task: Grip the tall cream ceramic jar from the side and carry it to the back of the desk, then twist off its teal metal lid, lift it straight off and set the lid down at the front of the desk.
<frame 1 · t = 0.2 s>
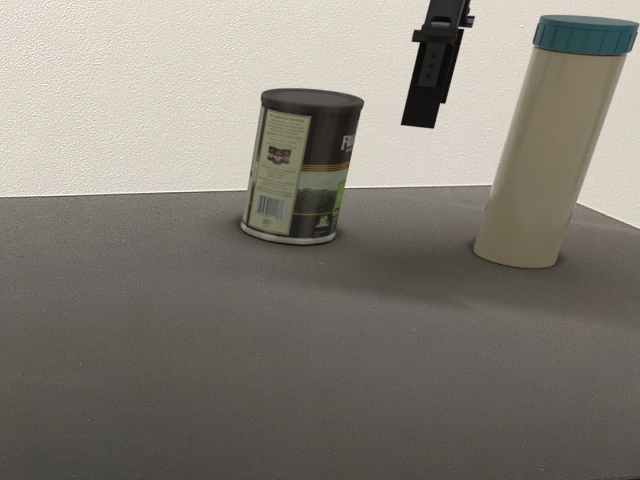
hand: (424, 113, 88), 15 cm above the table, tool pointing down, fingers open, 13 cm apart
jar: (513, 255, 101), on the table
lid: (587, 25, 90), point 22 cm above the table, screwed on, not yet turned
coffee can: (286, 232, 107), on the table
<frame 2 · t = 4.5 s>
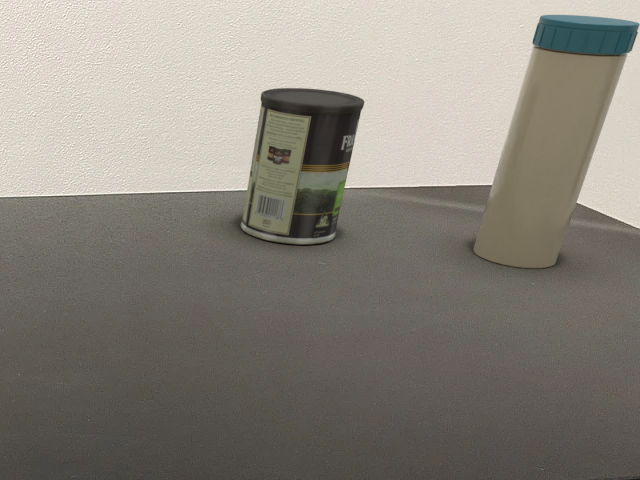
nothing on the table moved.
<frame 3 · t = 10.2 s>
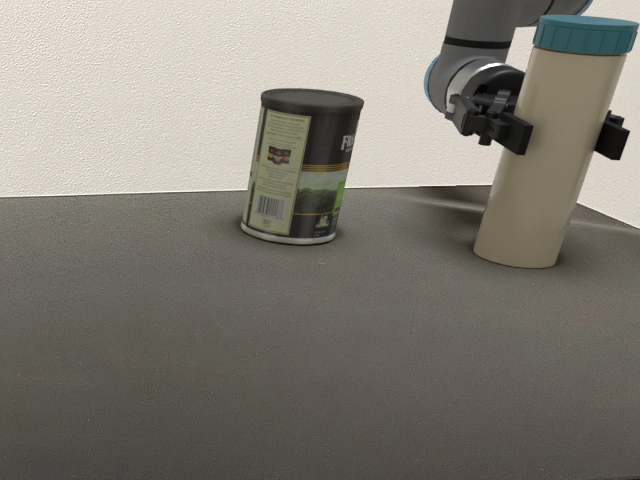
hand: (572, 143, 91), 12 cm above the table, tool horizontal, fingers closed on jar, 8 cm apart
jar: (513, 255, 101), on the table, touching gripper
everything else where it was.
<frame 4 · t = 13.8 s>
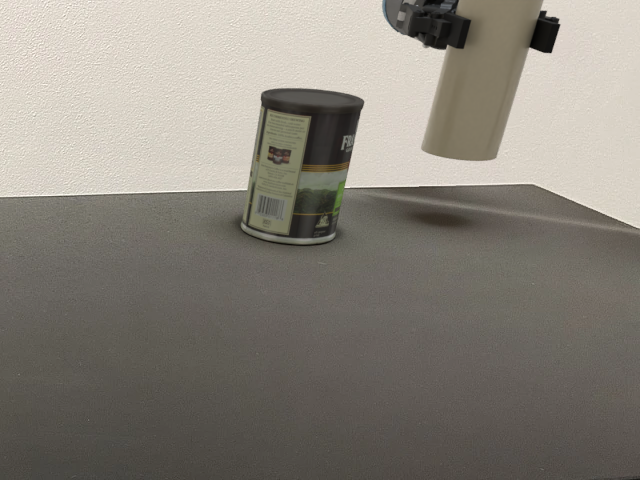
hand: (507, 36, 98), 20 cm above the table, tool horizontal, fingers closed on jar, 8 cm apart
jar: (458, 152, 108), point 8 cm above the table, touching gripper
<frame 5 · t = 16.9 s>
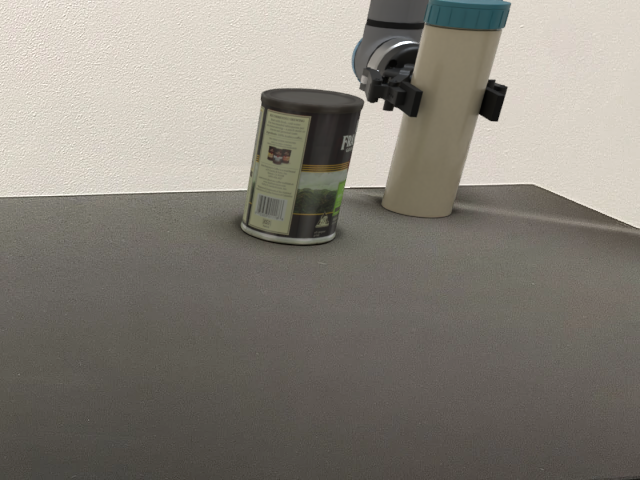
hand: (457, 106, 106), 12 cm above the table, tool horizontal, fingers closed on jar, 8 cm apart
jar: (415, 208, 116), on the table, touching gripper
lid: (468, 5, 105), point 22 cm above the table, screwed on, not yet turned
everything else where it was.
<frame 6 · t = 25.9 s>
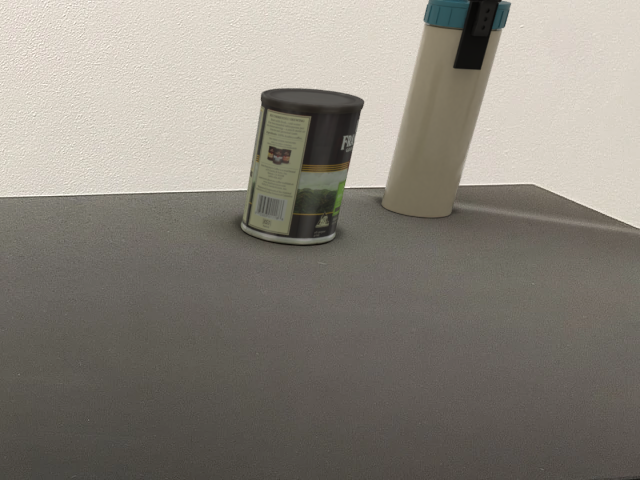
hand: (454, 62, 108), 16 cm above the table, tool pointing down, fingers closed on lid, 8 cm apart
jar: (415, 208, 116), on the table
lid: (468, 5, 105), point 22 cm above the table, screwed on, not yet turned, touching gripper
everything else where it was.
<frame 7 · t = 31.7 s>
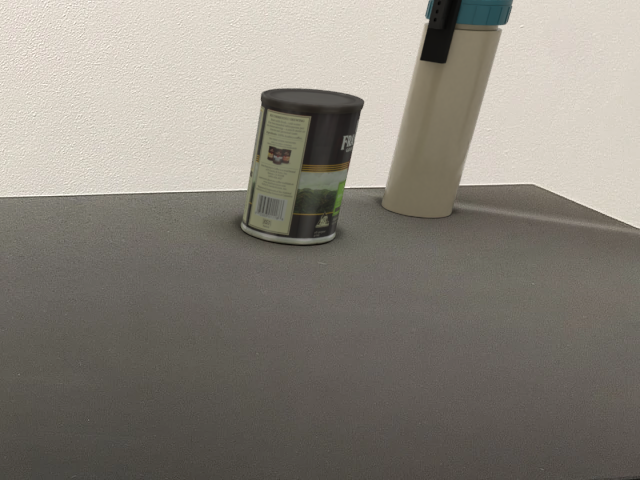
hand: (455, 59, 107), 17 cm above the table, tool pointing down, fingers closed on lid, 8 cm apart
lid: (470, 1, 104), point 22 cm above the table, off its thread, touching gripper
everything else where it was.
when the fingers open (0 cm above the table, at t = 46.3 s): lid drops 4 cm, point 2 cm above the table.
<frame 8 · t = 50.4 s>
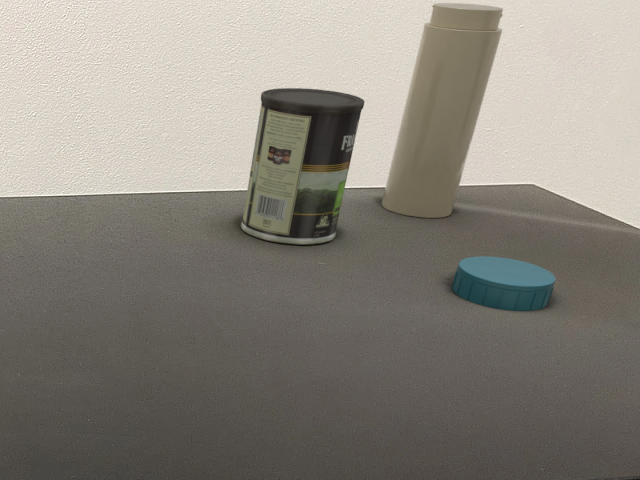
lid: (504, 275, 90), point 2 cm above the table, off its thread
everything else where it was.
at the end: jar inside the target area (0.1 cm from its centre), on the table; lid inside the target area (0.1 cm from its centre), point 1.9 cm above the table; the gripper is holding nothing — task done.
